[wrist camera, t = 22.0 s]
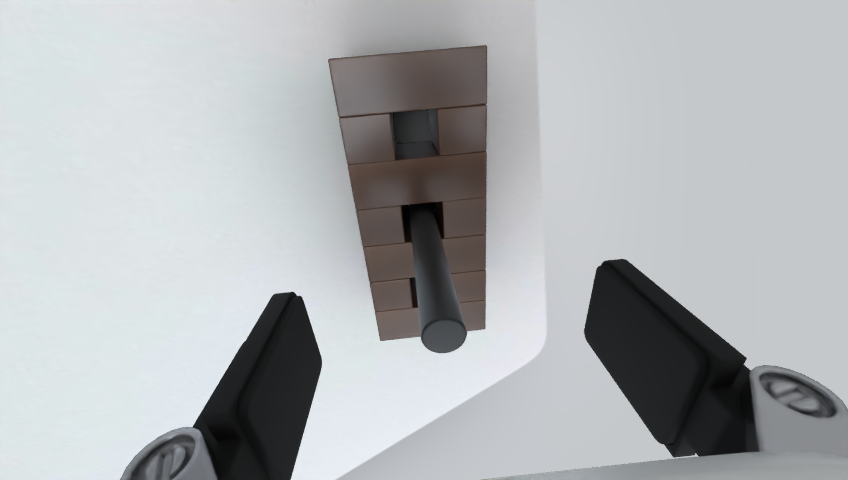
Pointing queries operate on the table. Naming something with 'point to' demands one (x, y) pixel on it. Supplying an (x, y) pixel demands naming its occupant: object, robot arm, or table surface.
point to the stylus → (434, 285)
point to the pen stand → (417, 172)
